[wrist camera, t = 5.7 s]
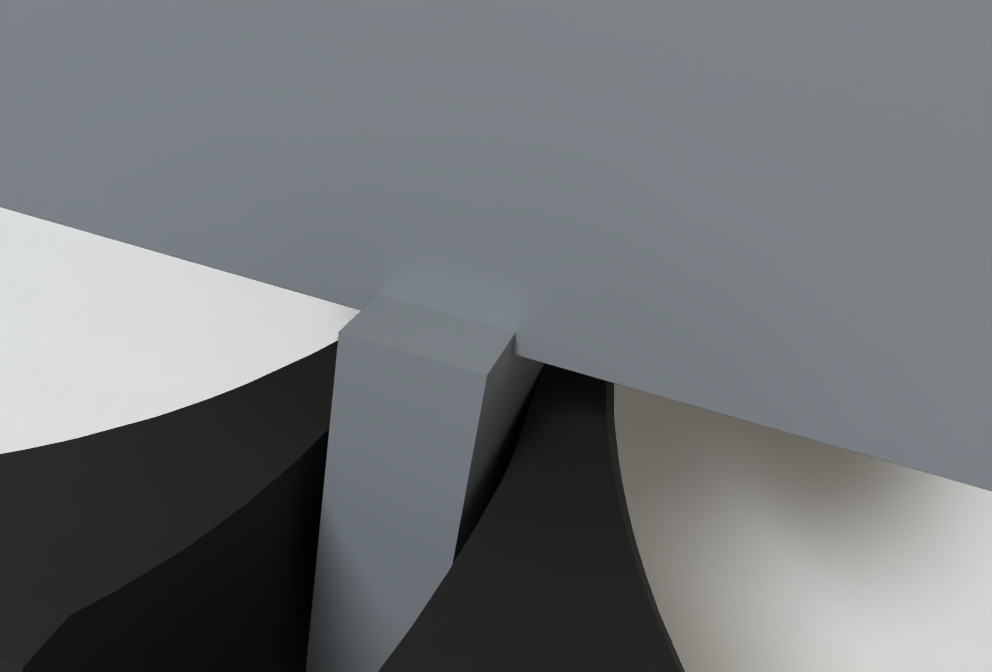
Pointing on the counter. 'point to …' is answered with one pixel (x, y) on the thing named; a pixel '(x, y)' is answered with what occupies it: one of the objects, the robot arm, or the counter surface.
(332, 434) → the grey blocky piece
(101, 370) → the counter surface
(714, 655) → the counter surface
